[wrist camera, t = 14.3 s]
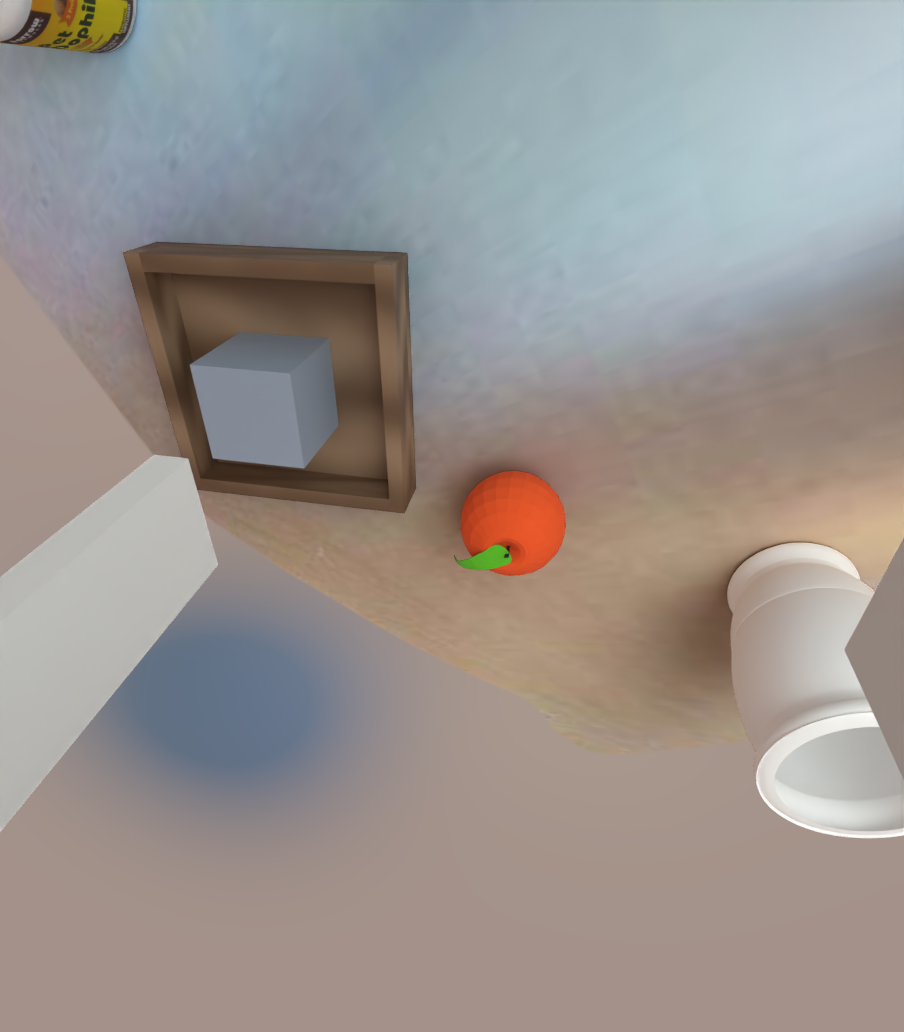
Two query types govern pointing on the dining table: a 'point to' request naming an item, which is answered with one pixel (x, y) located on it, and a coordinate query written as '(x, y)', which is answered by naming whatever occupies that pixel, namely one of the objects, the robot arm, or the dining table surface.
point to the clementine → (512, 524)
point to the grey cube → (267, 398)
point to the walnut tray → (293, 312)
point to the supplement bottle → (67, 23)
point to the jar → (810, 693)
